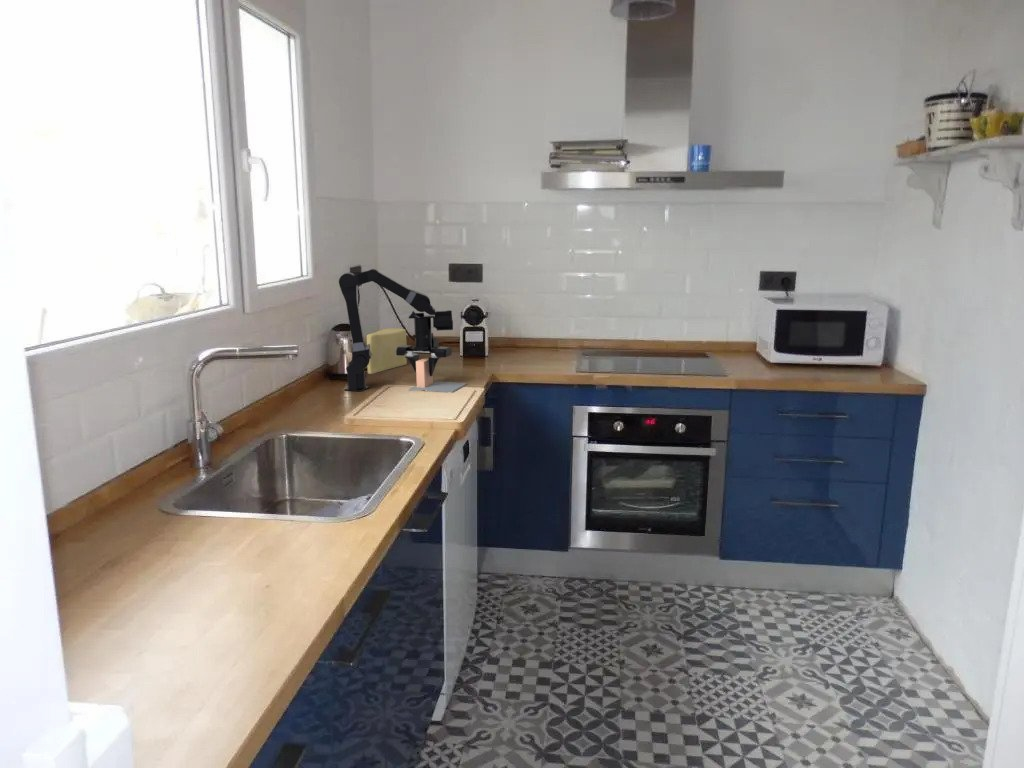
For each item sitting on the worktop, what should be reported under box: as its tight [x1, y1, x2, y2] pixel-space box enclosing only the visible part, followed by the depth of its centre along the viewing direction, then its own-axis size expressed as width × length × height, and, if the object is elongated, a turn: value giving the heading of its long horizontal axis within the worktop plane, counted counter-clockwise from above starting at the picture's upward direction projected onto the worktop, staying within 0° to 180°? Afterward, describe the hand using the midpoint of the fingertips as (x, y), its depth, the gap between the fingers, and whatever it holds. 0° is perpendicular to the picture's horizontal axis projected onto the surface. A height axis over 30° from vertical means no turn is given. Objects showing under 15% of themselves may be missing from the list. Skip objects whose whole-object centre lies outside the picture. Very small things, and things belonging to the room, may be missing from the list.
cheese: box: [366, 327, 408, 375], centre depth 294 cm, size 22×10×15 cm, turn 160°
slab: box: [415, 357, 434, 388], centre depth 261 cm, size 7×3×9 cm, turn 162°
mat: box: [408, 380, 468, 393], centre depth 260 cm, size 14×16×1 cm
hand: (424, 375), depth 261 cm, fingers open, 5 cm apart
